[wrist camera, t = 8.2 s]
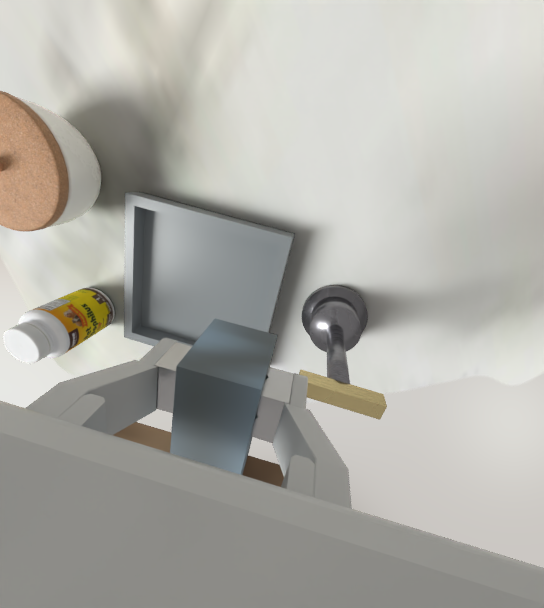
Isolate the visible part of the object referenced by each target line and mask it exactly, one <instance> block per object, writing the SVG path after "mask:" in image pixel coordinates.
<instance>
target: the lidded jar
mask: <svg viewBox="0 0 544 608" xmlns="http://www.w3.org/2000/svg"><path fill="white" fill-rule="evenodd" d="M101 177H102V176H101V169H100V165H99V162H98V160H97V158H96V156H95V154H94V152H93V150H92V148H91V146H90V145H89V143H88V142H87V141H86V139H85V138H84V137H83V136H82V135H81V133H80V132H79V131H78V130H77V129H76V128H75V127H74V126H72V125H71V124H70V123H69V122H67V121H66V120H65V119H63V118H62V117H60V116H59V115H57V114H55V113H54V112H52V111H50V110H48V109H46V108H44V107H42V106H40V105H37V104H35V103H33V102H30V101H27V100H24V99H21V98H18V97H15V96H12V95H10V94H8V93H6V92H3V91H0V225H2V226H4V227H7V228H10V229H13V230H17V231H35V230H39V229H44V228H46V227H51V226H55V225H60V224H64V223H67V222H70V221H72V220H74V219H76V218H78V217H80V216H82V215H83V214H85V213H86V212H87V211H88V210H89V209H90V208H91V207H92V206H93V205H94V203H95V201H96V199H97V198H98V195H99V192H100V187H101Z"/></svg>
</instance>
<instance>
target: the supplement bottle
mask: <svg viewBox="0 0 544 608" xmlns="http://www.w3.org/2000/svg"><path fill="white" fill-rule="evenodd" d="M114 315H115V311H114V306H113V304H112V302H111V300H110V299H109V298H108V297H107V296H106V295H105V294H104V293H103V292H101V291H99V290H97V289H94V288H83V289H80V290H78V291H76V292H73V293H71V294H68V295H66V296H64V297H61V298H59V299H56V300H54V301H52V302H49V303H47V304H45V305H42V306H40V307H37V308H35V309H33V310H30V311H28V312H26V313H25V314H23V315H22V317H21V318H20V319H19V323H18V325H16V326H15V327H13V328H10V329H9V330H7V331H6V332H5V333H4V335H3V341H4V344H5V347H6V348H7V350H8V351H9V353H10V354H11V355H13V356H14V357H15V358H16V359H18V360H19V361H21V362H24V363H29V364H30V363H35V362H37V361H39V360H41V359H42V358H45V357H49V358H55V357H59V356H61V355H63V354H65V353H66V352H68V351H69V350H71V349H72V348H74V347H76V346H77V345H79V344H80V343H82V342H83V341H85V340H86V339H88V338H90V337H91V336H93V335H94V334H96V333H97V332H99V331H100V330H102V329H104V328H105V327H107V326H108V325H109V324H110V323H111V322H112V321H113V319H114Z"/></svg>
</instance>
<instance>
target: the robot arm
mask: <svg viewBox="0 0 544 608" xmlns="http://www.w3.org/2000/svg"><path fill="white" fill-rule="evenodd" d="M192 346H193V345H190V344H187V343H183V342H180V341H176V340H173V339H169V338H163V339H162V340H161V341H160V342H158V343H157V344H156V345H155V346H154V347H153V348H152V349H151V350H150V351H149V352H148V353H147V354H146V355H145V356H144V357H143V358H142V359H141V360H140V361H136V360H134V361H130V362H127V363H124V364H120V365H117V366H114V367H110V368H107V369H104V370H100V371H97V372H94V373H90V374H87V375H84V376H80V377H77V378H74V379H70V380H67V381H64V382H60V383H58V384H57V385H56V386H54V387H53V388H52V389H51V390H49V391H48V392H46V393H45V394H44V395H42V396H41V397H40V398H38V399H37V400H36V401H34V402H33V403H32V404H30V405H29V406H28V407H26V408H22V407H19V406H16V405H12V404H9V403H6V402H3V401H0V608H544V568H542V567H539V566H535V565H532V564H529V563H525V562H523V561H519V560H516V559H513V558H510V557H506V556H503V555H500V554H496V553H493V552H490V551H487V550H484V549H480V548H477V547H474V546H471V545H467V544H464V543H461V542H457V541H454V540H451V539H448V538H445V537H441V536H438V535H435V534H431V533H428V532H425V531H422V530H419V529H415V528H412V527H409V526H406V525H402V524H399V523H396V522H393V521H389V520H386V519H383V518H380V517H376V516H373V515H370V514H366V513H363V512H360V511H357V510H353V509H352V508H351V496H350V486H349V485H350V484H349V472H348V468H347V467H346V465H345V464H344V462H343V461H342V459H341V457H340V456H339V454H338V453H337V451H336V450H335V448H334V447H333V445H332V444H331V442H330V440H329V439H328V437H327V436H326V435H325V433H324V432H323V430H322V428H321V427H320V425H319V424H318V422H317V420H316V419H315V417H314V416H313V414H312V413H311V411H310V410H308V409H306V399H307V386H308V377H307V376H303V375H299V374H295V373H294V374H293V373H289V372H286V371H282V370H278V369H275V368H271V367H269V369H268V372H267V376H266V380H265V382H264V386H263V389H262V392H261V396H260V400H259V404H258V408H257V412H256V417H255V420H254V425H253V429H252V433H251V436H252V437H255V438H258V439H261V440H265V441H268V442H271V443H273V447H274V450H275V453H276V456H277V458H278V462H279V465H280V467H281V470H282V473H283V476H284V479H283V482H282V485H281V487H279V486H275V485H272V484H269V483H266V482H263V481H259V480H256V479H253V478H250V477H246V476H243V475H240V474H237V473H233V472H230V471H227V470H224V469H220V468H217V467H214V466H211V465H208V464H204V463H201V462H198V461H194V460H191V459H188V458H185V457H181V456H178V455H175V454H172V453H168V452H165V451H162V450H159V449H155V448H152V447H149V446H146V445H142V444H139V443H136V442H133V441H129V440H126V439H123V438H120V437H116V436H113V435H114V434H115V433H117V432H119V431H121V430H122V429H124V428H126V427H128V426H129V425H131V424H133V423H134V422H136V421H138V420H139V419H141V418H143V417H145V416H146V415H148V414H150V413H152V412H153V411H155V410H156V409H160V410H163V411H167V412H171V413H173V406H174V392H175V379H176V366H177V365H178V364H179V362H180V361H181V360H182V359H183V357H184V356H185V355H186V354H187V352H188V351H189V350H190V349H191V347H192Z"/></svg>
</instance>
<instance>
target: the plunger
mask: <svg viewBox="0 0 544 608" xmlns="http://www.w3.org/2000/svg"><path fill="white" fill-rule="evenodd" d="M302 322H303V326H304V328H305V330H306V332H307V333H308V334H309V335H310V337H311V340H312V341H313V343H314V344H315V345H316V346H317V347H318V348H319V349H321V350H323V351H325V352H327V377H324V376H321V375H317V374H314V373H311V372H307V371H304V370H300V372H299V375H303V376H307V377H308V386H307V397H308V398H311V399H314V400H318V401H321V402H324V403H327V404H331V405H334V406H337V407H341V408H344V409H347V410H350V411H354V412H357V413H360V414H364V415H367V416H370V417H373V418H376V419H380V418H381V417H382V415H383V413H384V411H385V409H386V407H387V405H386V402H385V399H384V395H383V394H381V393H377V392H374V391H371V390H367V389H364V388H361V387H357V386H354V385H351V384H350V381H349V373H348V365H347V357H346V351H348V350H350V349H352V348H353V347H354V346H355V345H356V344H357V343H358V341H359V339H360V336H361V333H362V332H363V330H364V329H365V326H366V324H367V310H366V306H365V304H364V301H363V300H362V298H361V297H360V296H359V295H358V294H357V293H356V292H355V291H353V290H352V289H350V288H347V287H345V286H340V285H329V286H325V287H322V288H319V289H318V290H316V291H314V292H313V293H312V294H311V295H310V296H309V297H308V298H307V300H306V301H305V304H304V306H303V311H302Z"/></svg>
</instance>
